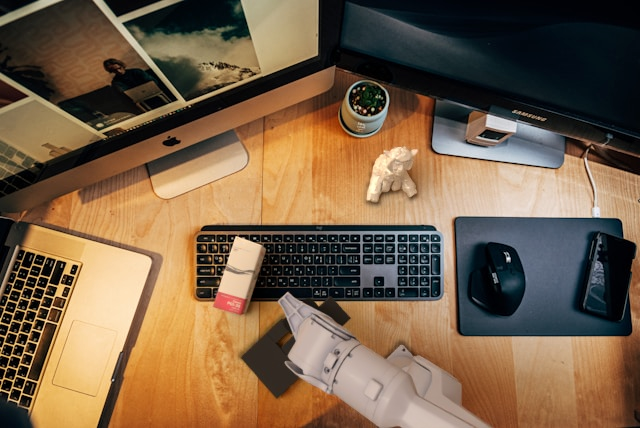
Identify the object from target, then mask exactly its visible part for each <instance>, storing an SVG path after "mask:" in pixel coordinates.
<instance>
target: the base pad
mask: <svg viewBox="0 0 640 428" xmlns="http://www.w3.org/2000/svg"><path fill="white" fill-rule="evenodd" d="M283 320H284V319H283V318H281V319H279V321H277V323H275V324H274V325H273V326H272V327H271V328H270V329H268V331H267V332H266V333H265V334H263V336H261V338H259V339H258V340H257V341H256V342H255V343H254V344H253V345H251V347H250V348H248V350H247V351H246V352H244V353H243V355H241V357H240V359H241V360H242V361H243V362H244V363H245V364H246V366H247V367H248V368H249V369H250V370H251V371H252V373H253V374H254V375H255V376H256V377H257V378H258V380H259V381H260V382H261V383H262V384H263V385H264V386H265V387H266V389H267V390H268V391H269V392H270V393H271V394H272V395H273V397H274V398H275V399H276V400H277V399H279V398H280V397H281V396H282V395H283V394H284V393H285V392H286V391H287V390H288V389H289V388H290V387H291V386H292V385H293V384H294V383H295V382H296V381H297V380H298V379H300V377H298V376H297V375H296V374H295V373H294V372H293V371H291V370H290V369H289V368H288V367H287V366H286V364H285V361H290V362H292V361H291V360H290V359H289V358H288V355H287V354H286V353H285V352H284V351H283V350H282V349H281V348H282V345H281V344H280V343H279V341H280V340H281V339H282V338H283V337H284V336H285V335H287V333H289V332H288V331H287V330H286V328H285V327H284V325H283Z"/></svg>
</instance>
